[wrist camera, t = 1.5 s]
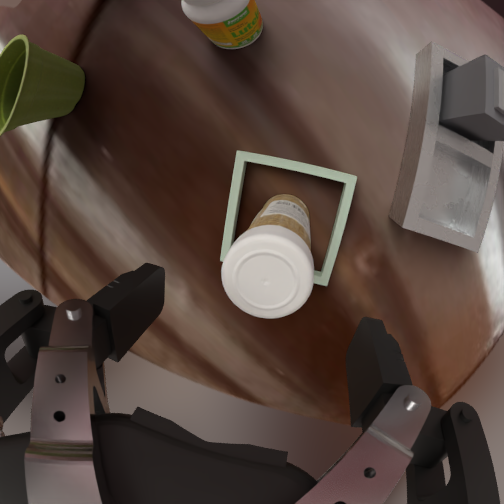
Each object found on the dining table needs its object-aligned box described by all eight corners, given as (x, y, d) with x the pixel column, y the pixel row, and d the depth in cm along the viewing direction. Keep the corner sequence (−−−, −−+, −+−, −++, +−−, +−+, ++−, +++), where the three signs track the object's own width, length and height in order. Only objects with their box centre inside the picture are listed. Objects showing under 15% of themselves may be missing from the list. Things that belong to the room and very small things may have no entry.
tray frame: (223, 256, 28) (219, 260, 27) (240, 150, 24) (236, 150, 23) (326, 280, 27) (326, 286, 25) (354, 175, 23) (357, 176, 22)
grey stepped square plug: (431, 122, 19) (490, 112, 10) (436, 78, 17) (489, 52, 8) (469, 140, 18) (531, 143, 9) (473, 98, 16) (532, 86, 7)
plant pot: (91, 33, 21) (29, 14, 11) (107, 100, 24) (31, 93, 14) (39, 84, 24) (-19, 82, 14) (51, 148, 27) (-15, 159, 17)
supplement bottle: (246, 58, 21) (213, 13, 12) (199, 41, 20) (151, 1, 12) (273, 18, 18) (256, -38, 10) (226, 3, 18) (192, -47, 9)
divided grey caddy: (388, 216, 23) (402, 227, 20) (416, 54, 17) (431, 41, 13) (459, 239, 22) (477, 252, 18) (485, 90, 16) (506, 85, 12)
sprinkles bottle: (252, 219, 26) (201, 281, 14) (283, 182, 24) (259, 214, 12) (288, 250, 26) (269, 336, 14) (320, 216, 25) (334, 281, 12)
